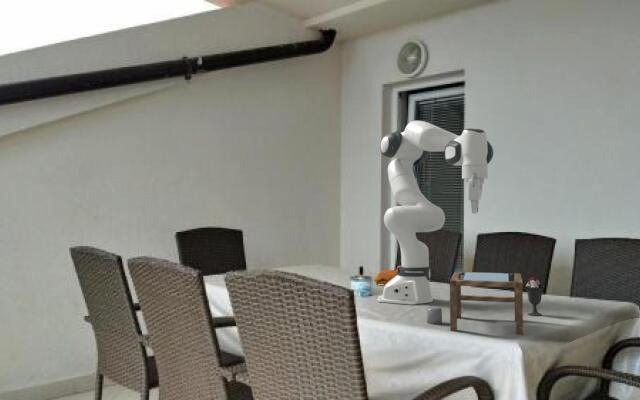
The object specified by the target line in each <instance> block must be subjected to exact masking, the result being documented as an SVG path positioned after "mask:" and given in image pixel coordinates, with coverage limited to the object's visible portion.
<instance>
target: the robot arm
mask: <svg viewBox="0 0 640 400" xmlns="http://www.w3.org/2000/svg"><path fill="white" fill-rule="evenodd" d="M493 148H494V147H493V146H492V145H491V143H490V141H488V139H487V133H486V131H485V130H483V129H480V128H465V129H464V130H462V133H461V134H460V135H458V134H455V133H454V132H451V131H448V130H446V129H444V128H441V127H440V126H436V125H434V124H432V123H430V122H428V121H423V120H412V121H410V122H409V123H407V125H406V126H405V128H404V131H403V132H400V131H399V130H395V131H394V132H390V133H386V134H385V135H384V136H382V138H381V141H380V144H379V149H380V153H381V155H382V156H384V157H385V158H388V159H393V160H391V161H390V163H389V164H388V166H387V176H388V183H389V186H390V189H391V192H392V196H393V199H394V201H396V203H397V204H398V205H397V206H396V205H395V206H392V207H390V208H388V209H387V210H386V211H385V213H384V216H383V224H384V226H385V227H386V229H387V231H389V232H390V233H391V234H393V235H394V237H395V238H396V240H397V242H398V245H399V249H400V257H401V258H400V260H401V265H398V266H397V267H396V270H397V274H398V275H397V276H395V277H394V278H393V279H391V280H390V281H389V282H388V283H387V284H386V285H385V286H384V287H383V291H382V295H379V296H378V297H377V302H378V303H389V304H397V305H398V304H400V305H402V304H403V305H419V304H428V303H432V302H433V301H434V298H433V295H432V289H431V284H430V280H431V267H430V261H429V257H430V256H429V255H430V253H429V252H430V251H429V247H428V246H427V245H426V243H424V242H422V241H420V240H418V238H417V235H416V233H431V232H435V231H439V230H441V229H442V228H443V226H444V224H445V222H446V216H445V215H446V214H445V212H444V210H443V209H442V208H441V207H440V206H438V205H435V204H433V202H431V201H429V200H428V199H427V197H426V196H425V195H424V194H423V193H422V191H421V189H420V188H419V185H418V181H417V179H416V177H415V174H414V171H413V167H417V166H420V164H421V163H422V162H424V161H425V160H426V159H427V157H428V156H429V154H430V152H431V153H432V152H444V154H443V155H444V158H445V160H446V162H447V164H449V165H452V166H456V167H457V166H459V167H460V166H461V179H463V180H465V184H467V187H468V188H467V199H468V200H469V201H470V207H471V208H470V209H471V214H478V212H479V200H482V195H483V194H482V193H483V185H484V183H485V180H486V179H488V176H489V175H488V174H489V173H488V172H489V170H488V164H490V162H491V161H492V160H493V158H494V149H493Z"/></svg>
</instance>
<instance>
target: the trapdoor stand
mask: <svg viewBox="0 0 640 400" xmlns="http://www.w3.org/2000/svg"><path fill="white" fill-rule="evenodd" d="M462 276H465V272H462V271H454V272H453V274H452V276H451V277H450V280H449V318H450V319H449V322H450V324H449V327H450V329H449V330H450V331H451V332H453V331H455V332H457V331H458V319H461V318H462V301H463V302H464V301H468V302H491V303H492V302H493V303H494V302H495V303H496V302H497V303H514V321H515V334H516V335H524V317H523V316H524V309H523V308H524V303H523V302H524V301H523V300H524V298H523V297H524V296H523V293H524V291H523V290H524V289H523V285H524V284H523V283H524V282H523V279H522V274H521V273H517V272H514V273H509V277H514V278H513V281H510V280H509V281H478V280H463V279H462ZM463 286H464V287H467V286H468V287H488V288H491V287H494V288H495V287H496V288H497V287H498V288H514V295H513V296H496V295H495V296H493V295H492V296H491V295H466V294H465V295H464V294H462V287H463Z"/></svg>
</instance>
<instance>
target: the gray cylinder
mask: <svg viewBox="0 0 640 400" xmlns="http://www.w3.org/2000/svg"><path fill="white" fill-rule="evenodd" d="M426 323H427V324H429V325H441V324H443V307H440V306H428V307H427V308H426Z"/></svg>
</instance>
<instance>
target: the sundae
mask: <svg viewBox="0 0 640 400" xmlns="http://www.w3.org/2000/svg"><path fill="white" fill-rule="evenodd" d="M527 275H528V276H529V278H528V282H527V283H526V285H525V286H524V287H525V289H526V291H527V298H528V302H529V303H530V304H531V305H532V310H531V312H528V313H527V315H528V316H531V317H542V316H543V313H539V312H538V308H537V306H538V305H539V304H540V303H541V301H542V297H543V296H542V293H543V290H544V289H545V286H544V285H543V284H544V281H542V282H540V280H538V279H537V278H535V277H533V275H532V274H531V273H530V272H527Z"/></svg>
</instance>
